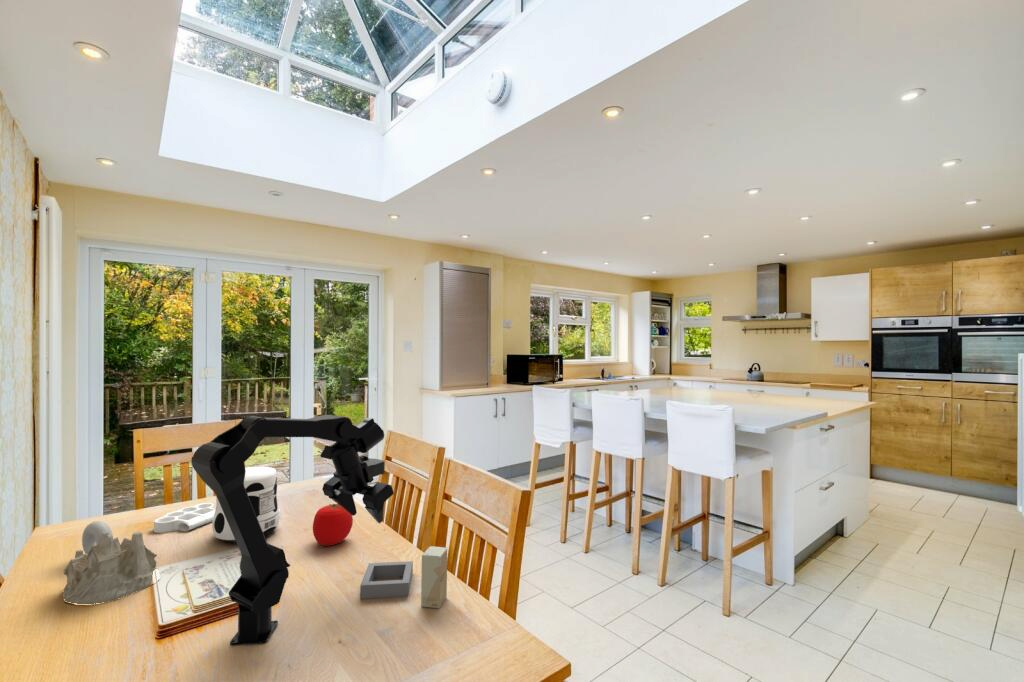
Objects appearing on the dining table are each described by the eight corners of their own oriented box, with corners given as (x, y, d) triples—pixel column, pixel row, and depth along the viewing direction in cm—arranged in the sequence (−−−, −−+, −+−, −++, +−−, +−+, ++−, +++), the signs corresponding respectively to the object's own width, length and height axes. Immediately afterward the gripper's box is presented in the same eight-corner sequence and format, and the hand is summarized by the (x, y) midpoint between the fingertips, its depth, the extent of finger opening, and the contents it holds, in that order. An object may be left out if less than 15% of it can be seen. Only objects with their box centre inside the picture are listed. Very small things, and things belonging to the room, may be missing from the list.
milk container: (219, 527, 143) (220, 468, 143) (282, 520, 149) (283, 463, 149) (204, 551, 127) (205, 484, 127) (276, 542, 133) (277, 478, 133)
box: (439, 609, 100) (439, 557, 100) (420, 606, 101) (420, 555, 101) (447, 596, 105) (447, 546, 105) (429, 594, 106) (429, 545, 106)
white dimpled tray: (179, 537, 136) (142, 531, 140) (232, 516, 153) (197, 511, 158) (179, 526, 136) (142, 520, 140) (232, 505, 153) (197, 501, 158)
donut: (78, 559, 121) (79, 520, 121) (94, 553, 125) (95, 516, 125) (100, 566, 117) (100, 526, 117) (116, 561, 121) (116, 522, 121)
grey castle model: (168, 580, 111) (164, 517, 111) (75, 616, 97) (71, 544, 97) (142, 567, 119) (139, 508, 119) (54, 598, 106) (50, 531, 106)
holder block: (408, 596, 105) (408, 582, 105) (360, 598, 104) (360, 585, 104) (412, 573, 115) (412, 561, 115) (368, 575, 114) (368, 563, 114)
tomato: (303, 548, 129) (303, 508, 129) (327, 533, 139) (327, 496, 139) (337, 552, 127) (337, 512, 127) (358, 536, 137) (359, 499, 137)
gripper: (400, 450, 111) (417, 504, 116) (347, 441, 121) (365, 491, 126) (365, 478, 102) (385, 535, 107) (312, 466, 112) (332, 519, 117)
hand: (367, 518), depth 114 cm, fingers open, 9 cm apart
